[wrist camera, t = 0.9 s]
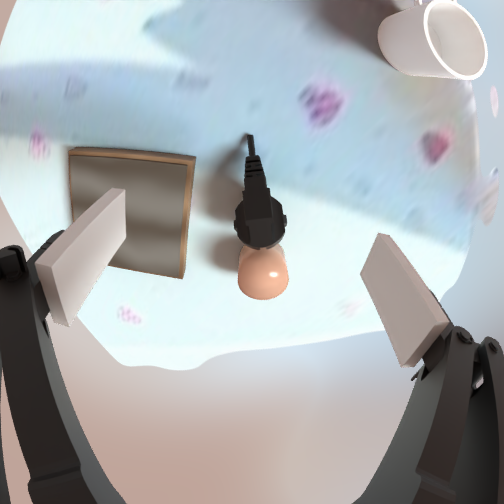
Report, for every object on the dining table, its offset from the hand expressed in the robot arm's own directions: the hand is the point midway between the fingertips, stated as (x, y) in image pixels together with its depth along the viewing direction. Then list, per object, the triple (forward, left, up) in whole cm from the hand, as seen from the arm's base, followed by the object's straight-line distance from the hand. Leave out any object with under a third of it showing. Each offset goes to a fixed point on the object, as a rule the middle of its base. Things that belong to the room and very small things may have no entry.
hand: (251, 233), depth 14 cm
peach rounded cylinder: (+14, +4, -19) cm, 24 cm away
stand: (+10, -14, -19) cm, 26 cm away
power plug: (0, 0, -22) cm, 22 cm away
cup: (-20, +15, -20) cm, 32 cm away
